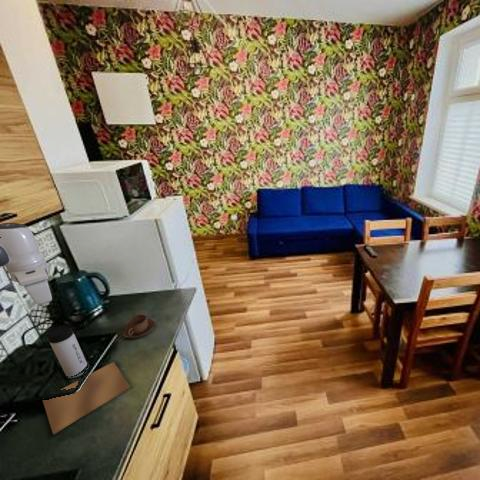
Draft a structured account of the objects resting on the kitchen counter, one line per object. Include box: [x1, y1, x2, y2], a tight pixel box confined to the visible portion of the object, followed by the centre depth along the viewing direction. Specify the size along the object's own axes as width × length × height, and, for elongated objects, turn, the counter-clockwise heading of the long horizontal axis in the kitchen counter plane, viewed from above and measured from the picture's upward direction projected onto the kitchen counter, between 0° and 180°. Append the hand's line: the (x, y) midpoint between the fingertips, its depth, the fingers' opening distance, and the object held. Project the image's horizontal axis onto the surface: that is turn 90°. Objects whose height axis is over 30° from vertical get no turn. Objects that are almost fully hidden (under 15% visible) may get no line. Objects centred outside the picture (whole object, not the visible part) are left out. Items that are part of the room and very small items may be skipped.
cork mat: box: [42, 361, 131, 435], centre depth 91 cm, size 20×17×1 cm
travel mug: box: [44, 324, 89, 380], centre depth 95 cm, size 6×7×20 cm
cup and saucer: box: [122, 314, 155, 339], centre depth 117 cm, size 12×12×6 cm
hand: (45, 304), depth 94 cm, fingers closed
